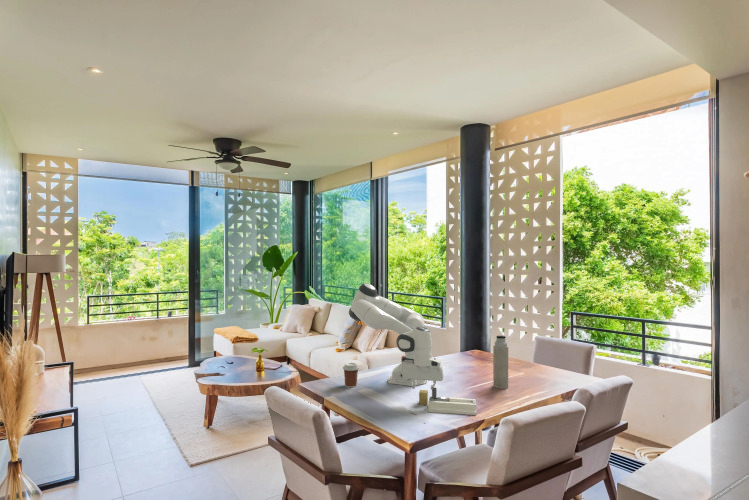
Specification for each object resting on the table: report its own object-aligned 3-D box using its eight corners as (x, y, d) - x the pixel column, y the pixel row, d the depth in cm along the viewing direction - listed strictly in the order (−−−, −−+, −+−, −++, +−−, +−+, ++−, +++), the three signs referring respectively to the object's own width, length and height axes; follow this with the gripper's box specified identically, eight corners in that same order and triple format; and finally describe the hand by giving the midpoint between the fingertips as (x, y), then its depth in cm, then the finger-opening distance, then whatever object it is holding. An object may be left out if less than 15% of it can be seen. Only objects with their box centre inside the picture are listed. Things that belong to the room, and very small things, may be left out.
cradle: (428, 411, 205) (428, 403, 205) (429, 403, 217) (429, 394, 217) (476, 415, 201) (476, 406, 201) (475, 406, 213) (475, 397, 213)
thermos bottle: (491, 386, 244) (491, 336, 244) (497, 383, 250) (497, 334, 250) (504, 389, 239) (504, 338, 239) (510, 386, 245) (510, 335, 245)
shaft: (430, 405, 209) (430, 389, 209) (430, 402, 213) (430, 387, 213) (449, 406, 208) (449, 390, 208) (449, 403, 211) (449, 388, 211)
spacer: (419, 404, 215) (419, 392, 215) (419, 401, 219) (419, 389, 219) (427, 405, 214) (427, 392, 214) (427, 402, 218) (427, 390, 218)
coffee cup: (356, 382, 251) (356, 361, 251) (361, 387, 242) (361, 365, 243) (340, 384, 248) (340, 362, 248) (345, 389, 239) (345, 366, 239)
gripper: (400, 361, 216) (400, 389, 216) (443, 363, 212) (443, 392, 212) (402, 358, 222) (402, 385, 222) (443, 360, 218) (443, 388, 218)
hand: (422, 388), depth 217 cm, fingers open, 8 cm apart
